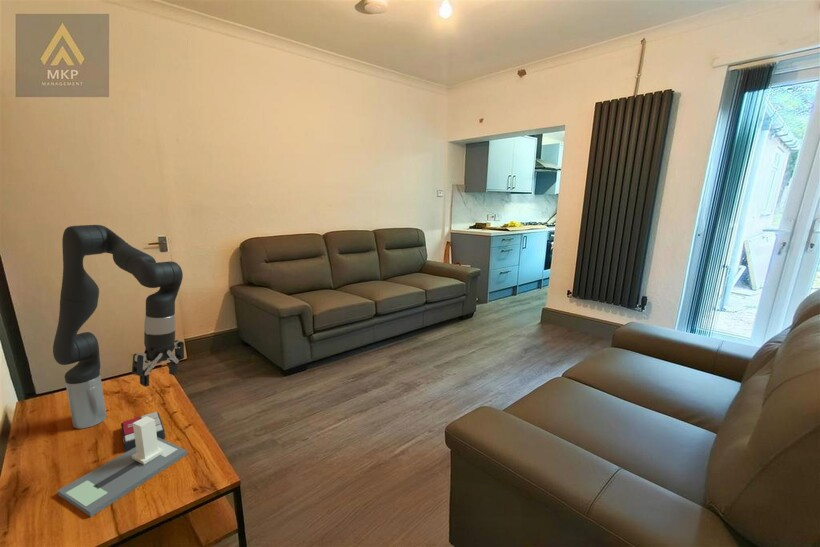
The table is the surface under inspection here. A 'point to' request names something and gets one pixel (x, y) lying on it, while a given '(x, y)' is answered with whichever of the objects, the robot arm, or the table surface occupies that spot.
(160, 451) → the switch slider
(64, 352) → the robot arm
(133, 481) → the switch panel
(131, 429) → the calculator
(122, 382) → the table surface
